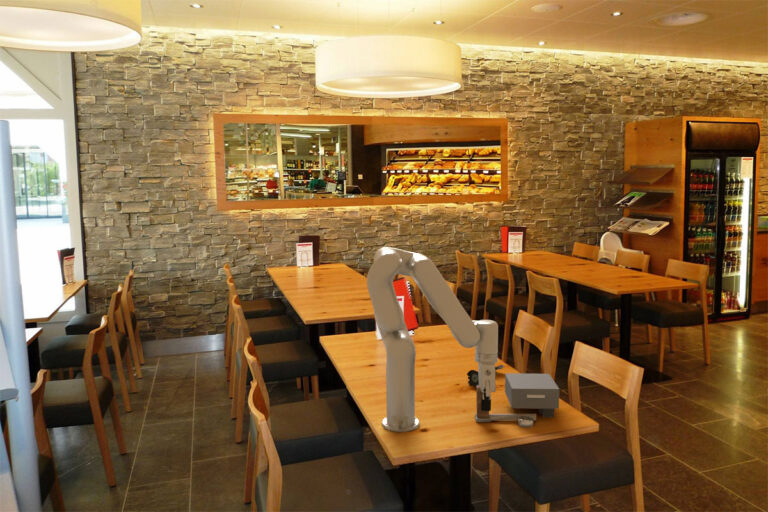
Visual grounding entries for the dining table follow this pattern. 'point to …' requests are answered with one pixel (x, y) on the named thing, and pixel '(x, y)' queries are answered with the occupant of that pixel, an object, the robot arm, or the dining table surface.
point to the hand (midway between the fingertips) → (485, 408)
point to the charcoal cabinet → (532, 392)
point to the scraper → (486, 417)
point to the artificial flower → (474, 376)
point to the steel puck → (525, 421)
